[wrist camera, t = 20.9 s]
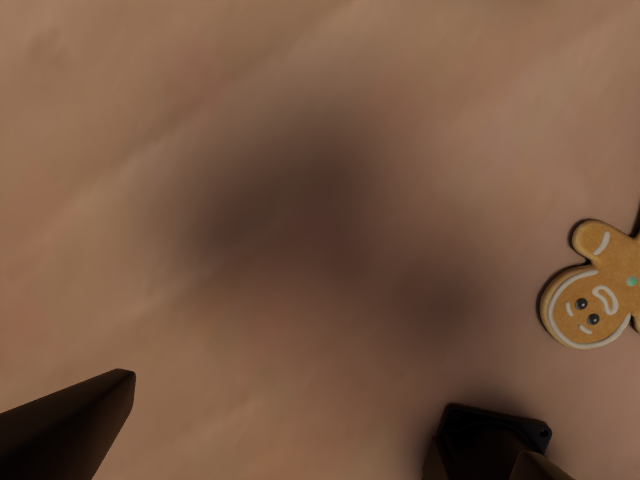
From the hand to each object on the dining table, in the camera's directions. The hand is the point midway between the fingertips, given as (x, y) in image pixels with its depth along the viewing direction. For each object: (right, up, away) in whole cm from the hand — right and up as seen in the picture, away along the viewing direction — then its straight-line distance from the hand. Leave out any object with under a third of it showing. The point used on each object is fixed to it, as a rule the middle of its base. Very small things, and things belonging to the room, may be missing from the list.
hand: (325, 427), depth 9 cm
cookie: (+17, +2, +12) cm, 21 cm away
